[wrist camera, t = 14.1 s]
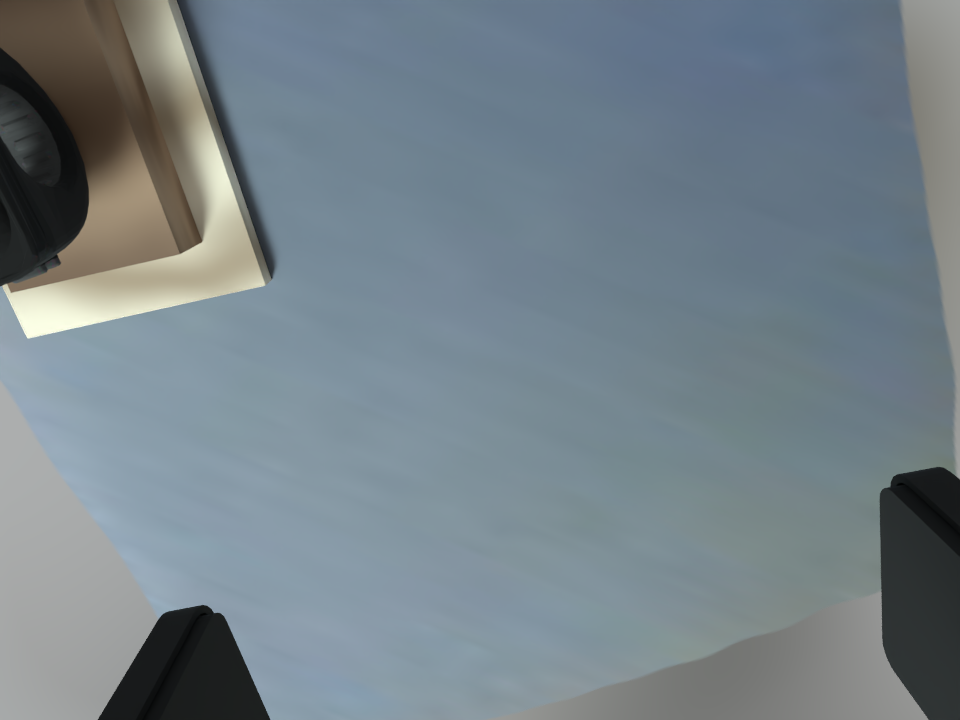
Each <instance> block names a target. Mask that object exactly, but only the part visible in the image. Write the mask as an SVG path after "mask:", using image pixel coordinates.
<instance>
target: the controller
mask: <svg viewBox="0 0 960 720" xmlns="http://www.w3.org/2000/svg"><path fill="white" fill-rule="evenodd" d="M88 207H89V187H88V181H87V176H86V171H85V165H84V162H83V159H82V157H81V154H80V151H79V149H78V146H77V143H76V141H75V139H74V136H73V134H72V132H71V130H70V129H69V127H68V125H67V124H66V122H65V120H64V119H63V117H62V115H61V114H60V112H59V110H58V109H57V107H56V106H55V105H54V103H53V102H52V101H51V99H50V98H49V96H48V95H47V94H46V92H45V91H44V90H43V89H42V88H41V87H40V85H39V84H38V83H37V82H36V81H35V80H34V79H33V78H32V77H31V76H30V75H29V73H28V72H27V71H26V70H25V69H24V68H23V67H22V66H21V65H20V64H19V63H18V62H17V61H16V60H15V59H13V58H12V57H11V56H10V55H9V54H7V53H6V52H5V51H4V50H3V49H1V48H0V286H3V285H5V284H8V283H11V282H13V283H16V284H17V283H19V282H22V281H25V280H28V279H31V278H33V277H36V276H39V275H41V274H44V273H47V271H48V270H49V269H52V268H54V267H57V266H60V264H61V262H60V260H59V258H58V255H57V254H58V253H59V252H61V251H62V250H64V249H65V248H66V247H67V246H68V245H69V244H71V243H72V241H73V240H74V239H75V238H76V237H77V236H78V234H79V233H80V231H81V229H82V228H83V226H84V224H85V221H86V218H87V214H88Z"/></svg>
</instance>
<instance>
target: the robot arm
mask: <svg viewBox="0 0 960 720" xmlns="http://www.w3.org/2000/svg"><path fill="white" fill-rule="evenodd" d="M880 537H881V589H882V639H883V646H884V650H885V653H886V656H887V659H888V661H889V663H890V665H891V667H892V668H893V670H894V672H895V673H896V675H897V676H898V677H899V679H900V680H901V681H902V683H903V684H904V686H905V687H906V688H907V690H908V691H909V693H910V694H911V695H912V697H913V698H914V700H915V701H916V702H917V704H918V705H919V706H920V708H921V709H922V711H923V712H924V714H925V715H926V716H927V718H928V719H929V720H960V479H958V478H957V477H956V476H955V475H953V474H952V473H951V472H950V471H948V470H946V469H945V468H942V467H935V468H930V469H925V470H919V471H914V472H909V473H903V474H898V475H896V476H894V477H893V479H892V481H891V486H890V487H889V488H884V489H883V490H882V491H881V493H880ZM98 720H270V718H269V716H268V713H267V711H266V709H265V707H264V704H263V702H262V700H261V698H260V695H259V693H258V691H257V689H256V686H255V684H254V682H253V680H252V677H251V675H250V673H249V671H248V668H247V666H246V664H245V662H244V659H243V657H242V655H241V653H240V650H239V648H238V646H237V644H236V641H235V639H234V637H233V635H232V632H231V630H230V628H229V626H228V623H227V621H226V619H225V618H224V616H223V615H222V614H221V613H213V611H212V609H211V608H209V607H208V606H205V605H201V606H195V607H190V608H185V609H179V610H174V611H169V612H166V613H164V614H163V615H162V616H161V617H160V618H159V620H158V621H157V623H156V625H155V626H154V628H153V629H152V631H151V633H150V634H149V636H148V638H147V639H146V641H145V643H144V644H143V646H142V648H141V649H140V651H139V653H138V654H137V656H136V658H135V659H134V661H133V663H132V664H131V666H130V668H129V669H128V671H127V672H126V674H125V676H124V677H123V679H122V681H121V682H120V684H119V686H118V687H117V689H116V691H115V692H114V694H113V696H112V697H111V699H110V700H109V702H108V704H107V706H106V707H105V709H104V710H103V712H102V714H101V715H100V717H99V719H98Z"/></svg>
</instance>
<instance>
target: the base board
mask: <svg viewBox="0 0 960 720" xmlns="http://www.w3.org/2000/svg"><path fill="white" fill-rule="evenodd" d="M0 48H1V49H3V50H4V51H5V52H6V53H7V54H9V55H10V56H11V57H12V58H13V59H15V60H16V61H17V62H18V63H19V64H20V65H21V66H22V67H23V68H24V69H25V70H26V71H27V72H28V73H29V75H30V76H31V77H32V78H33V79H34V80H35V81H36V82H37V83H38V84H39V85H40V87H41V88H42V89H43V90H44V91H45V92H46V94H47V95H48V96H49V98H50V99H51V101H52V102H53V103H54V105H55V106H56V107H57V109H58V110H59V112H60V114H61V115H62V117H63V119H64V120H65V122H66V124H67V125H68V127H69V129H70V130H71V132H72V134H73V136H74V139H75V141H76V143H77V146H78V149H79V151H80V154H81V157H82V159H83V162H84V165H85V171H86V176H87V181H88V187H89V207H88V214H87V218H86V221H85V224H84V226H83V228H82V229H81V231H80V233H79V234H78V236H77V237H76V238H75V239H74V240H73V241H72V243H71V244H69V245H68V246H67V247H66V248H65V249H64V250H62V251H61V252H59V253H58V254H57V255H58V258H59V260H60V262H61V264H60V266H57V267H54V268H52V269H49V270H48V271H47V273H44V274H41V275H39V276H36V277H33V278H31V279H28V280H25V281H22V282H19V283H17V284H16V283H13V282H11V283H8V284H5V285H3V286H2V287H3V289H4V291H5V293H6V295H7V297H8V299H9V301H10V303H11V305H12V307H13V309H14V311H15V313H16V316H17V318H18V320H19V322H20V324H21V326H22V328H23V330H24V332H25V334H26V336H27V338H32V337H37V336H41V335H46V334H50V333H55V332H59V331H64V330H68V329H73V328H77V327H82V326H86V325H90V324H95V323H99V322H104V321H108V320H113V319H117V318H122V317H126V316H131V315H135V314H140V313H144V312H149V311H153V310H158V309H162V308H167V307H171V306H176V305H180V304H185V303H189V302H194V301H198V300H203V299H207V298H212V297H216V296H221V295H225V294H229V293H234V292H238V291H243V290H247V289H252V288H256V287H261V286H265V285H267V284H268V283H269V282H270V281H271V280H272V279H271V277H270V274H269V271H268V268H267V265H266V262H265V259H264V256H263V253H262V250H261V247H260V244H259V241H258V238H257V235H256V232H255V229H254V226H253V224H252V221H251V218H250V215H249V212H248V209H247V206H246V203H245V200H244V197H243V194H242V191H241V188H240V185H239V182H238V179H237V176H236V173H235V171H234V168H233V165H232V162H231V159H230V156H229V153H228V150H227V147H226V144H225V141H224V138H223V135H222V132H221V129H220V126H219V123H218V120H217V118H216V115H215V112H214V109H213V106H212V103H211V100H210V97H209V94H208V91H207V88H206V85H205V82H204V79H203V76H202V73H201V70H200V67H199V65H198V62H197V59H196V56H195V53H194V50H193V47H192V44H191V41H190V38H189V35H188V32H187V29H186V26H185V23H184V20H183V17H182V14H181V12H180V9H179V6H178V3H177V0H0Z"/></svg>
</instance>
